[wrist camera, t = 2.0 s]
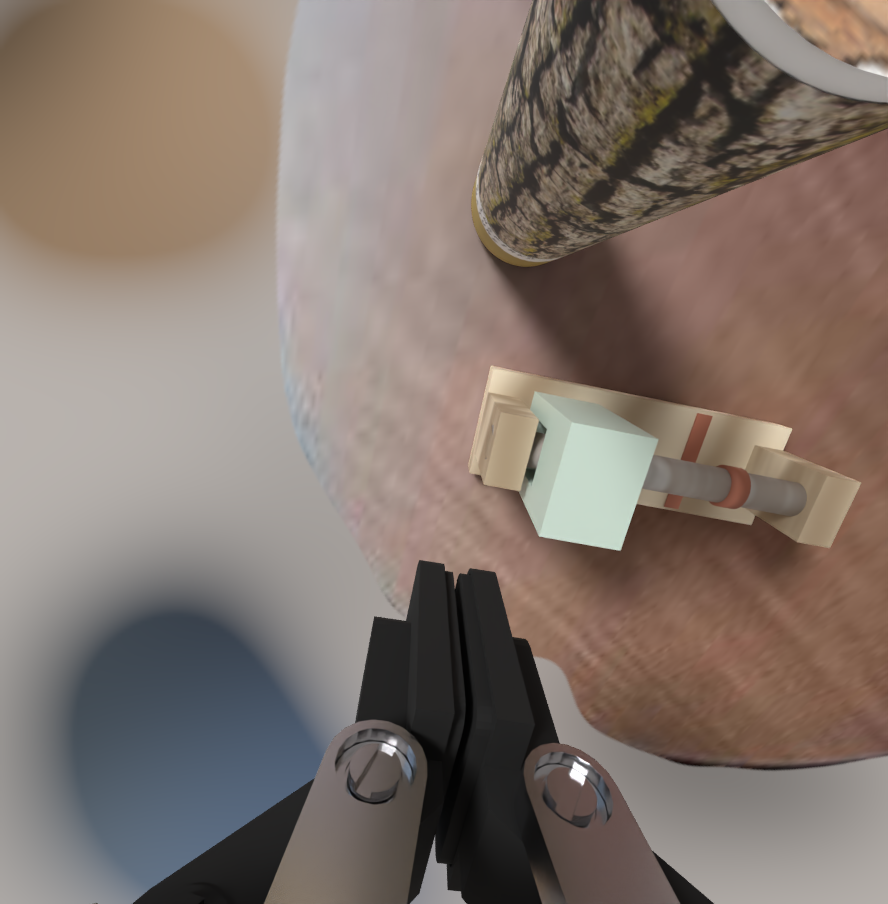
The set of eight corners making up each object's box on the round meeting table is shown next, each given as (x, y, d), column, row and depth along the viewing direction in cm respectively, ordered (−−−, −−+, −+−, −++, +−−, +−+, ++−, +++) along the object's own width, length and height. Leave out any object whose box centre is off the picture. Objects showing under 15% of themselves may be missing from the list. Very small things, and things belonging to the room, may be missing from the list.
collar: (598, 404, 29) (658, 439, 21) (573, 489, 30) (620, 550, 23) (534, 391, 28) (571, 422, 21) (512, 478, 30) (539, 536, 22)
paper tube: (539, 290, 30) (987, 217, 6) (447, 225, 28) (520, -222, 4) (607, 188, 28) (1639, -524, 4) (513, 114, 27) (1182, -1518, 3)
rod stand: (776, 423, 32) (874, 456, 25) (738, 516, 34) (818, 571, 27) (490, 365, 31) (508, 382, 24) (468, 465, 33) (477, 510, 26)
